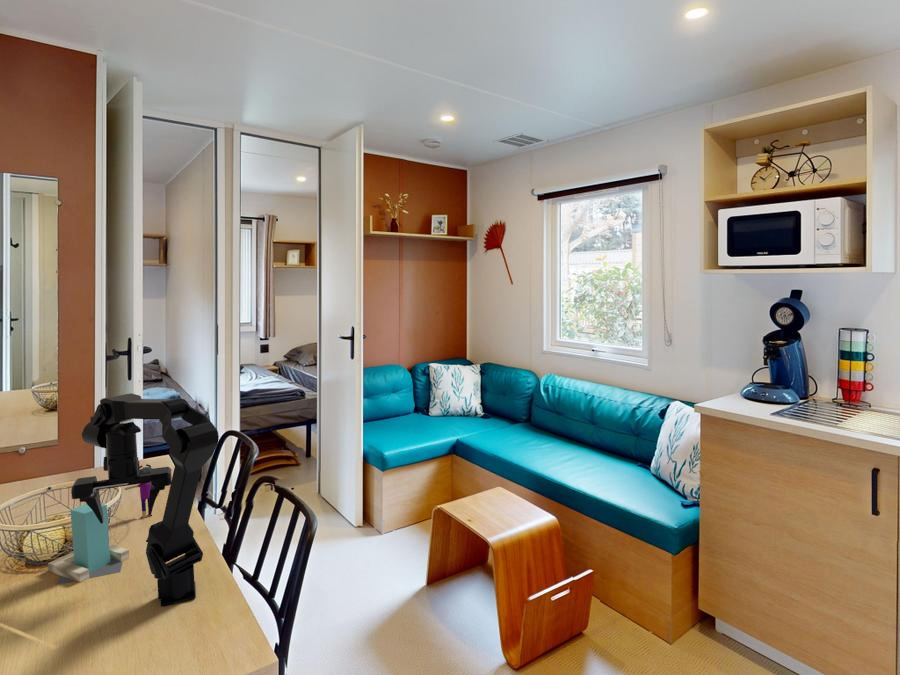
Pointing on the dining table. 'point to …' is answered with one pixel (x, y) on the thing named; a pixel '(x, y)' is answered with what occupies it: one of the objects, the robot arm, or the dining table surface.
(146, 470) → the toy
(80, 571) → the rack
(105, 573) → the mat
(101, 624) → the dining table surface
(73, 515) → the teal post
